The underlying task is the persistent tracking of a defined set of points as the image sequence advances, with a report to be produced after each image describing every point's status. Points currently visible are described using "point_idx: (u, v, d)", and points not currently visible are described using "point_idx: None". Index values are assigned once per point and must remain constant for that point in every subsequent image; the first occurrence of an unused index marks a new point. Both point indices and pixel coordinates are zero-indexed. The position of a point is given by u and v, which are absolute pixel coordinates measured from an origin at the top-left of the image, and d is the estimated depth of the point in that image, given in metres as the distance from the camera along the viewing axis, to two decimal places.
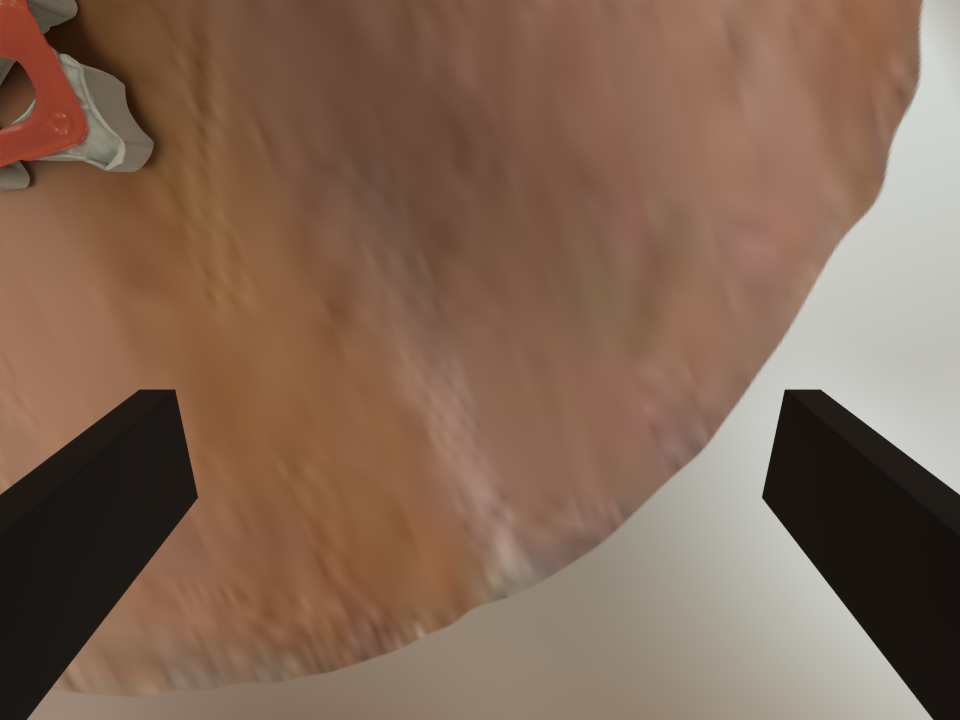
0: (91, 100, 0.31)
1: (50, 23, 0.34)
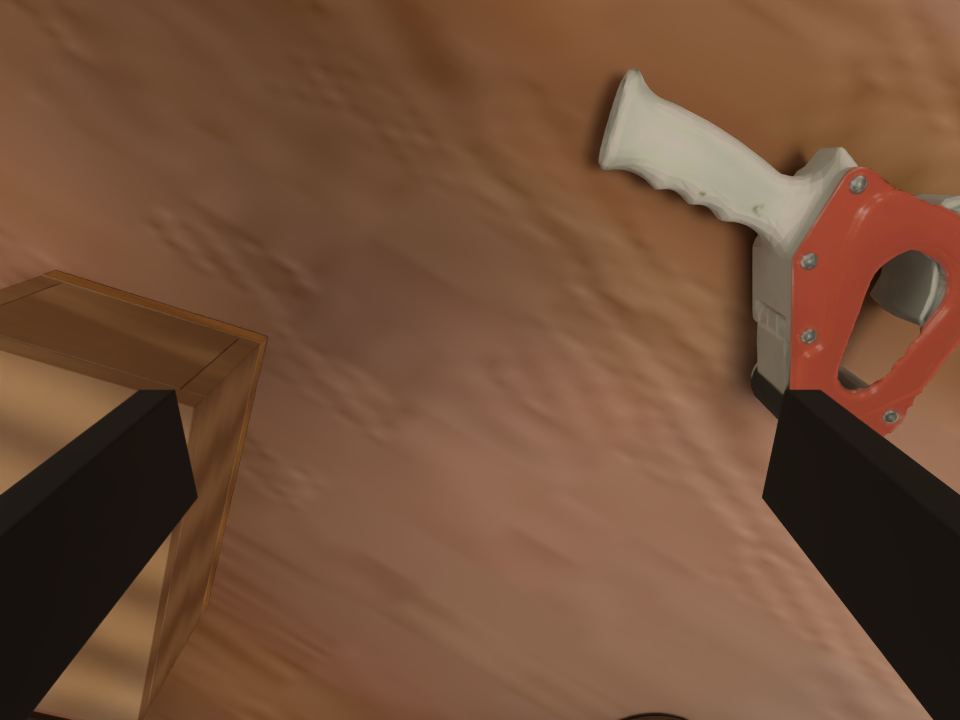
0: None
1: None
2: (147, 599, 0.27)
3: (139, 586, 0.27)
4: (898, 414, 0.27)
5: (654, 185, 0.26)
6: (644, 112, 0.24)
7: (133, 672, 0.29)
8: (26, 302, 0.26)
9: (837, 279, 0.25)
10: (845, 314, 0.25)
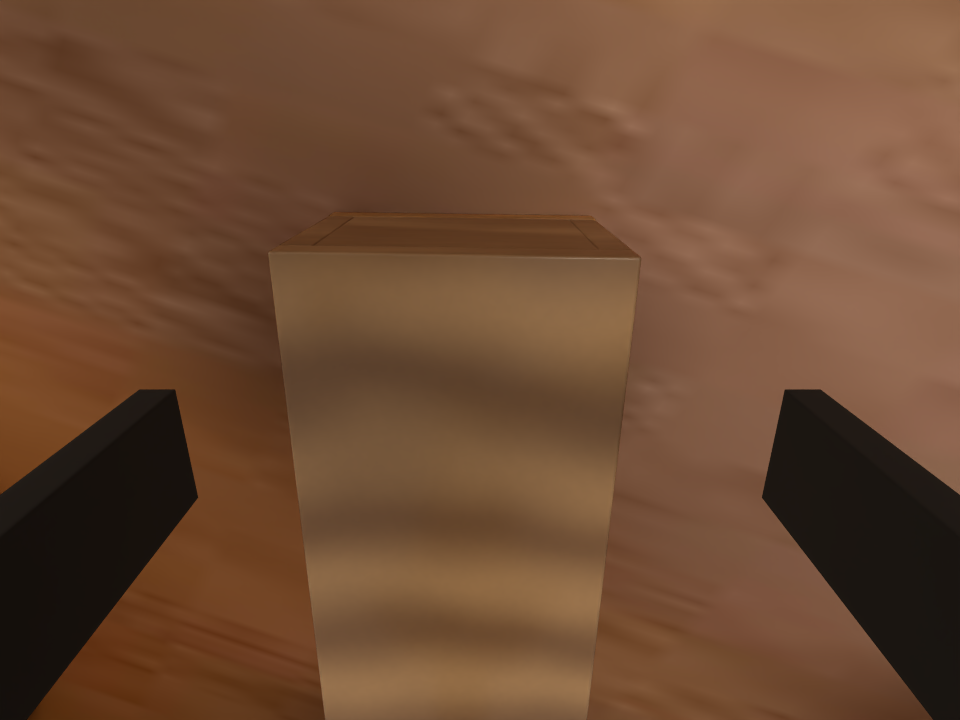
0: None
1: None
2: (592, 550, 0.21)
3: (581, 534, 0.21)
4: None
5: None
6: None
7: (579, 652, 0.23)
8: (348, 228, 0.21)
9: None
10: None
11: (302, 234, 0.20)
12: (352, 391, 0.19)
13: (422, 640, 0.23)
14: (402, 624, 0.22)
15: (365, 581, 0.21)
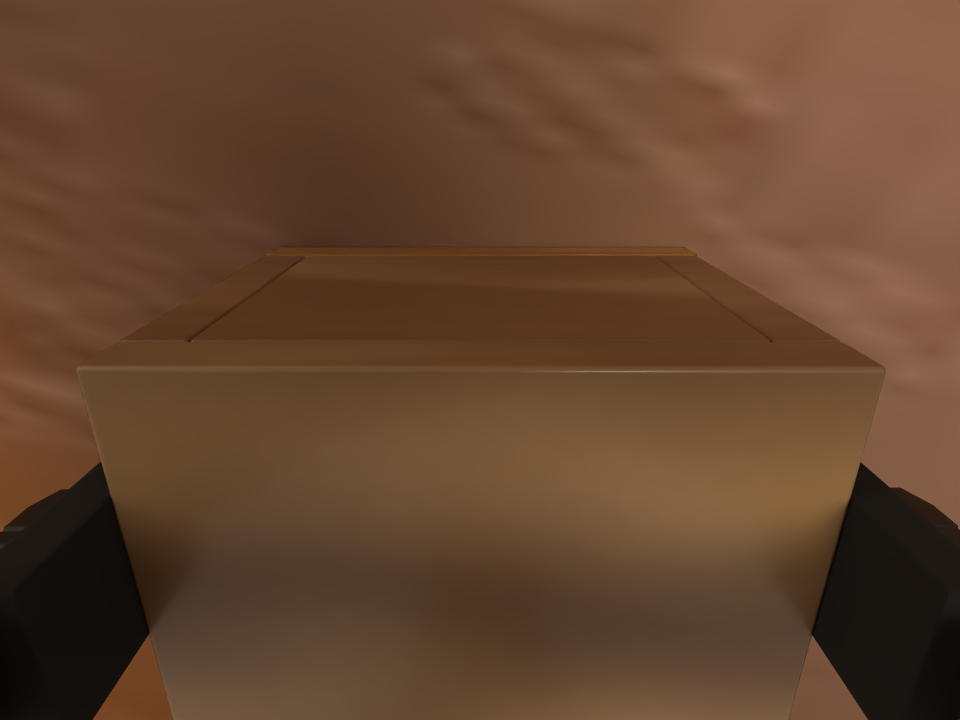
0: None
1: None
2: None
3: None
4: None
5: None
6: None
7: None
8: (284, 286, 0.12)
9: None
10: None
11: (189, 305, 0.11)
12: (277, 622, 0.09)
13: None
14: None
15: None
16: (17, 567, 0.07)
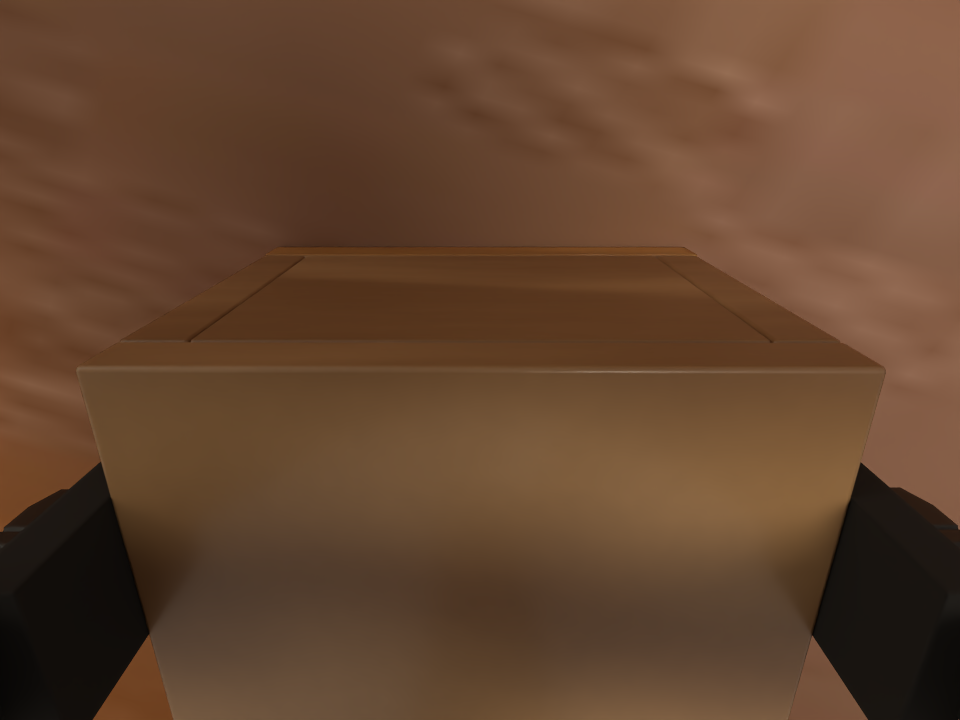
0: None
1: None
2: None
3: None
4: None
5: None
6: None
7: None
8: (284, 286, 0.12)
9: None
10: None
11: (189, 305, 0.11)
12: (277, 622, 0.09)
13: None
14: None
15: None
16: (16, 567, 0.07)
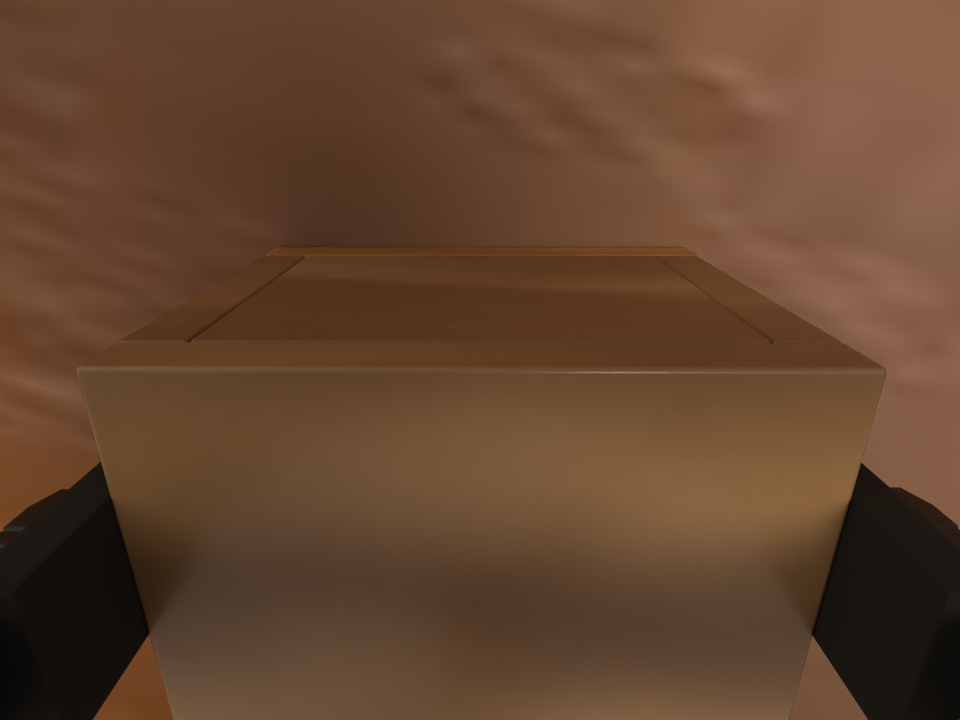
0: None
1: None
2: None
3: None
4: None
5: None
6: None
7: None
8: (284, 286, 0.12)
9: None
10: None
11: (189, 305, 0.11)
12: (278, 622, 0.09)
13: None
14: None
15: None
16: (17, 567, 0.07)
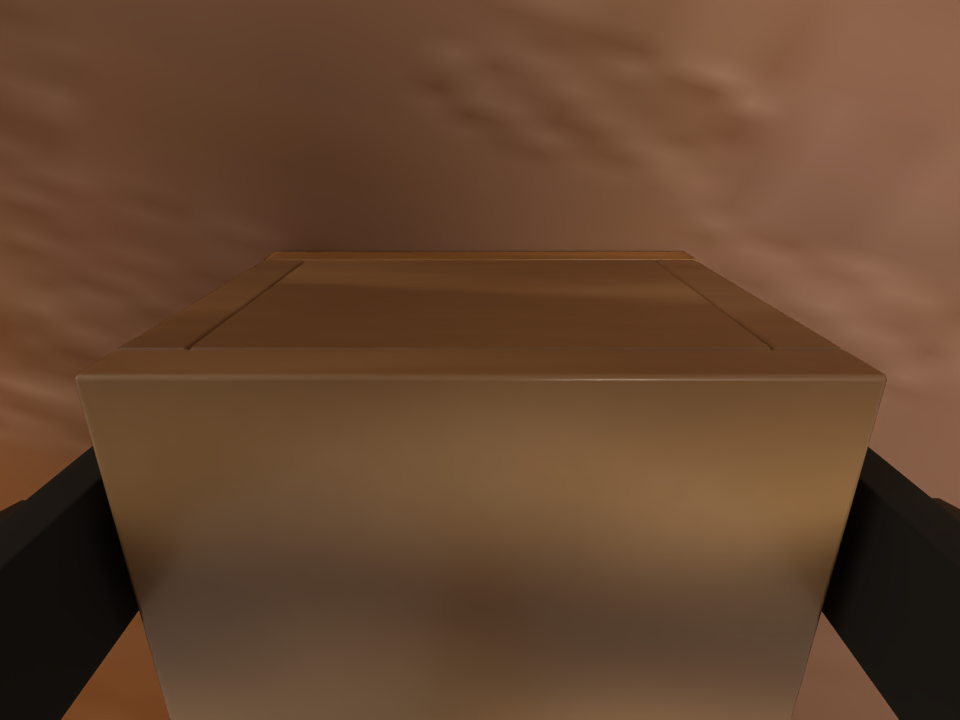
0: None
1: None
2: None
3: None
4: None
5: None
6: None
7: None
8: (283, 292, 0.12)
9: None
10: None
11: (188, 311, 0.11)
12: (277, 629, 0.09)
13: None
14: None
15: None
16: None
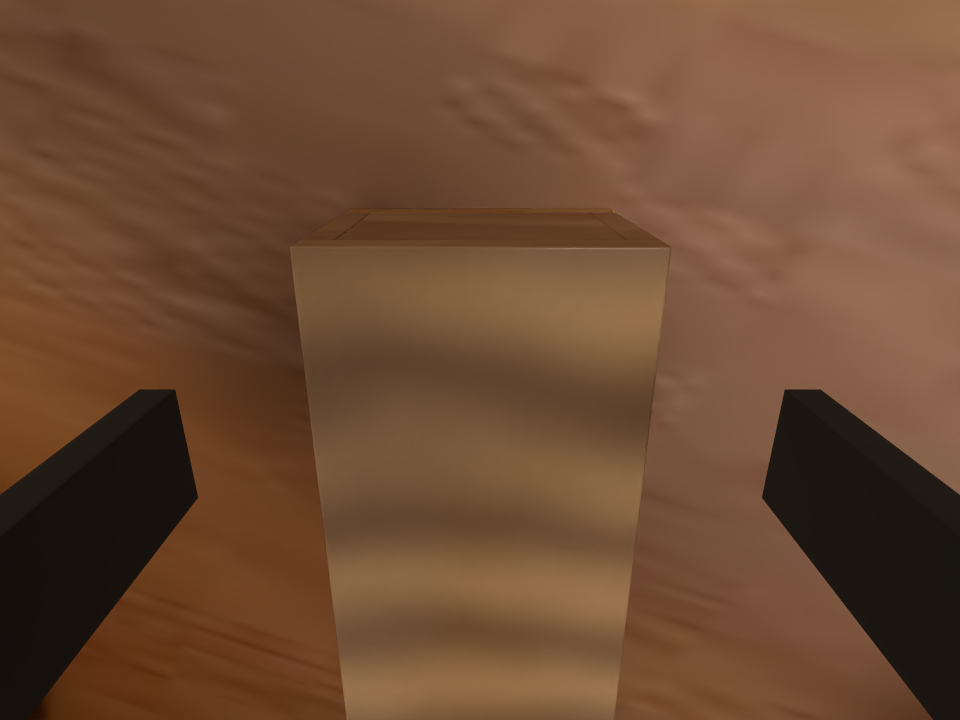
0: None
1: None
2: (620, 548, 0.21)
3: (609, 532, 0.20)
4: None
5: None
6: None
7: (606, 653, 0.22)
8: (367, 223, 0.21)
9: None
10: None
11: (321, 229, 0.19)
12: (375, 389, 0.18)
13: (446, 642, 0.22)
14: (426, 626, 0.22)
15: (388, 583, 0.21)
16: None
